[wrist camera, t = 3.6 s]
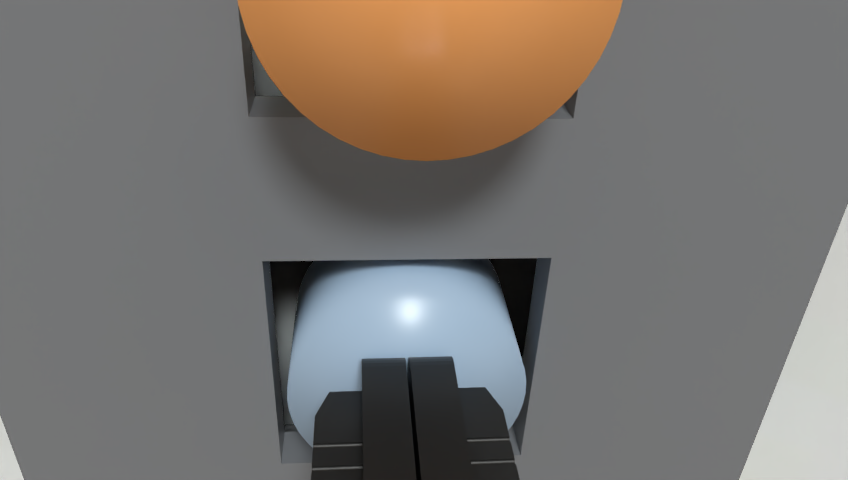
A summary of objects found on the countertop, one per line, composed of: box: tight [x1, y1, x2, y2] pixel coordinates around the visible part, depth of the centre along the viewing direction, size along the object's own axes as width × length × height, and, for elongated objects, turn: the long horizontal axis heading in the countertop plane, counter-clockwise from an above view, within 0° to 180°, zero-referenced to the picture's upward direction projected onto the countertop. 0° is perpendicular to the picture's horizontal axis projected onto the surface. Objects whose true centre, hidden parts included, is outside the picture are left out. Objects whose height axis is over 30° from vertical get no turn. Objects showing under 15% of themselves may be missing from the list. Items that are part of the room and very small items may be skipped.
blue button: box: [287, 259, 526, 448], centre depth 13 cm, size 4×4×2 cm
